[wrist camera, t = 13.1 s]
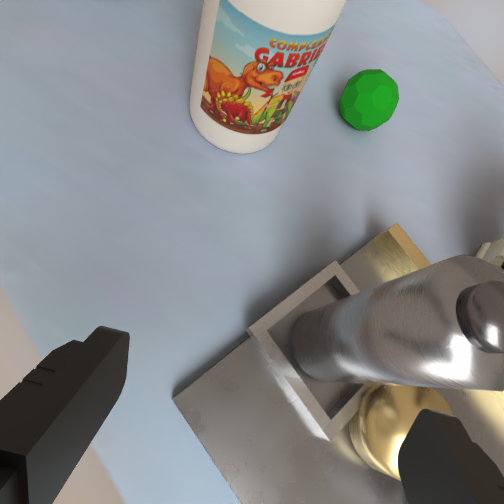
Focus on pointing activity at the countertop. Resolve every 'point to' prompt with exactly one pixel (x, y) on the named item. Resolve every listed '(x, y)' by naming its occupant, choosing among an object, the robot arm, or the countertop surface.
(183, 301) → the countertop surface
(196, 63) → the milk bottle
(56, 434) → the robot arm
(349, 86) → the polyhedron
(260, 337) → the carrier plate
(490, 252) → the pneumatic valve
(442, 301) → the cylinder
